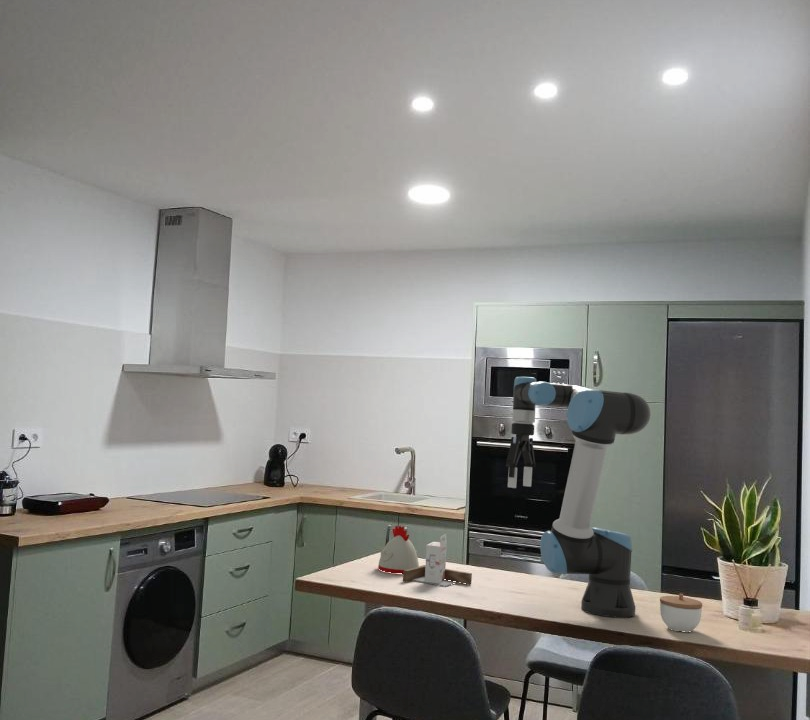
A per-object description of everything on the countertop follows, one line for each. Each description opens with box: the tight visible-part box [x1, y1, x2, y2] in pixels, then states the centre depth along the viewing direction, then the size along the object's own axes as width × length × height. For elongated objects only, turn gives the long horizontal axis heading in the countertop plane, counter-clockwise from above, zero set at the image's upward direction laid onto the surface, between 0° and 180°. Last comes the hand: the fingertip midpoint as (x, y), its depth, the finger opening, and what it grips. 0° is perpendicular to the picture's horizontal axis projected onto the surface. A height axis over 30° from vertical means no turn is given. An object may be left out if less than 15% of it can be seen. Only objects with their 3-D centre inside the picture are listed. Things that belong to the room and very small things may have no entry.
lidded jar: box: [659, 593, 703, 632], centre depth 204 cm, size 11×11×9 cm
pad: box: [412, 576, 458, 587], centre depth 244 cm, size 12×8×1 cm, turn 60°
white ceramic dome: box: [377, 525, 420, 574], centre depth 260 cm, size 14×14×15 cm
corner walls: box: [402, 564, 473, 585], centre depth 243 cm, size 18×14×4 cm
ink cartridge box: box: [425, 533, 448, 583], centre depth 245 cm, size 9×5×15 cm, turn 163°
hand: (519, 487), depth 253 cm, fingers open, 13 cm apart
